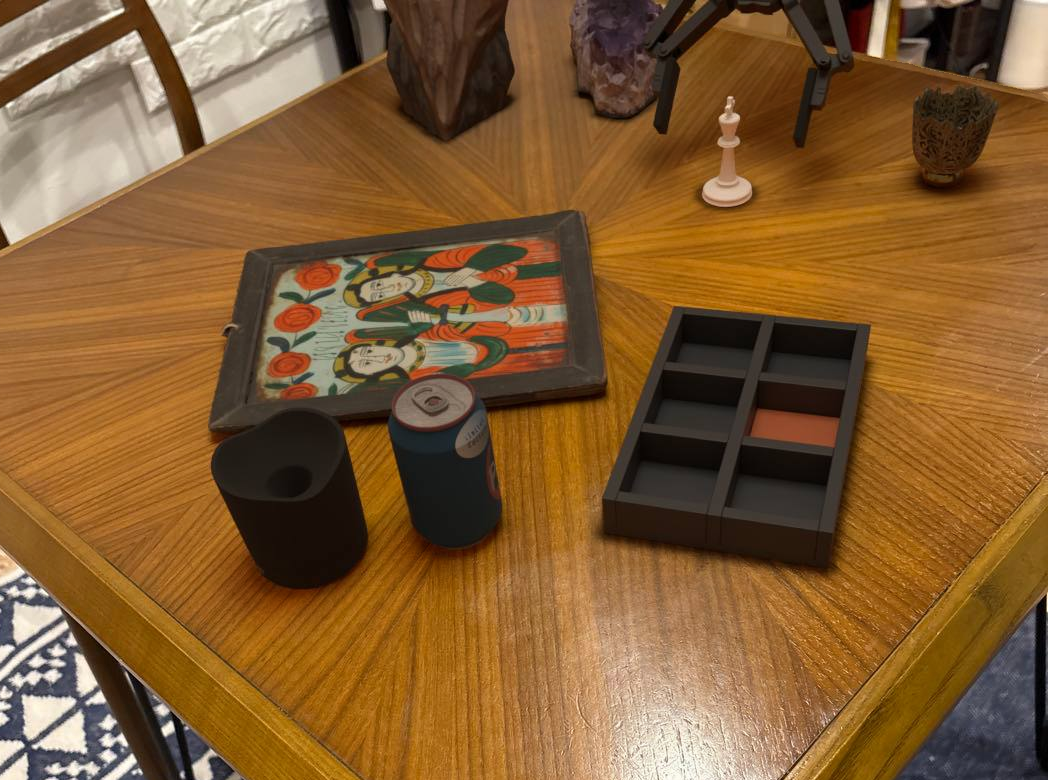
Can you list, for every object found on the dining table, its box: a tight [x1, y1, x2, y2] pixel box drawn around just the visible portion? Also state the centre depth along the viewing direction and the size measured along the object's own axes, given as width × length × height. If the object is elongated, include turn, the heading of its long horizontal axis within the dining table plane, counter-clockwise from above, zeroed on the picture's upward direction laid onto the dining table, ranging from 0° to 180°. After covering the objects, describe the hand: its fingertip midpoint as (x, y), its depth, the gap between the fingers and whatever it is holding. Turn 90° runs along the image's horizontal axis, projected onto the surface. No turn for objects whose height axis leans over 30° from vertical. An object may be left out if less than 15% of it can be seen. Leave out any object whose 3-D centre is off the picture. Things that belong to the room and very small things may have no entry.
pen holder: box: [210, 407, 369, 591], centre depth 79 cm, size 9×9×10 cm
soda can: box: [387, 374, 503, 550], centre depth 79 cm, size 7×7×12 cm
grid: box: [601, 305, 872, 569], centre depth 84 cm, size 16×24×4 cm
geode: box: [568, 0, 664, 119], centre depth 127 cm, size 20×12×10 cm, turn 2°
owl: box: [382, 0, 516, 142], centre depth 123 cm, size 13×13×20 cm
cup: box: [911, 84, 1000, 188], centre depth 105 cm, size 8×7×8 cm
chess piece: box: [701, 95, 753, 208], centre depth 107 cm, size 5×5×10 cm
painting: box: [207, 209, 609, 434], centre depth 101 cm, size 28×35×2 cm
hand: (727, 136), depth 106 cm, fingers open, 13 cm apart
